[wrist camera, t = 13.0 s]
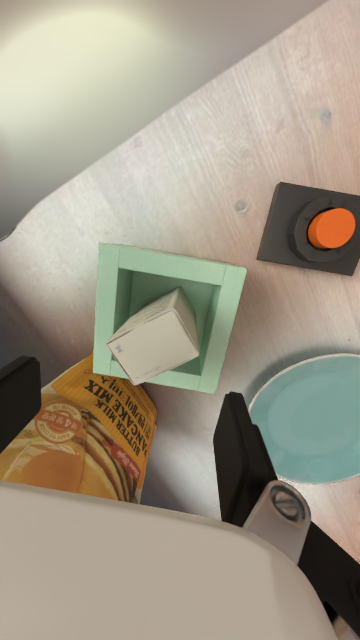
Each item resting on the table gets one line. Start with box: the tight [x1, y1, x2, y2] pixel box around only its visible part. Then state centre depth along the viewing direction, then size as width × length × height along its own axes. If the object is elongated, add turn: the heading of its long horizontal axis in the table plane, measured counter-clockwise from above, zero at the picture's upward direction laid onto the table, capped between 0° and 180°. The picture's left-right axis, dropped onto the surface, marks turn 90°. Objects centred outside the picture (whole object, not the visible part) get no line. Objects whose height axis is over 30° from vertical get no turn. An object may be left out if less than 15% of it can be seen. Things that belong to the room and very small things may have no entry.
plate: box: [248, 353, 360, 484], centre depth 31 cm, size 22×22×3 cm
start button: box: [308, 208, 355, 248], centre depth 22 cm, size 4×4×2 cm
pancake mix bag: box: [0, 349, 157, 504], centre depth 20 cm, size 7×19×28 cm, turn 29°
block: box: [257, 182, 360, 276], centre depth 24 cm, size 11×8×3 cm
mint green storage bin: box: [93, 243, 247, 394], centre depth 26 cm, size 14×14×7 cm
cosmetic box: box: [105, 286, 199, 385], centre depth 22 cm, size 6×4×12 cm
